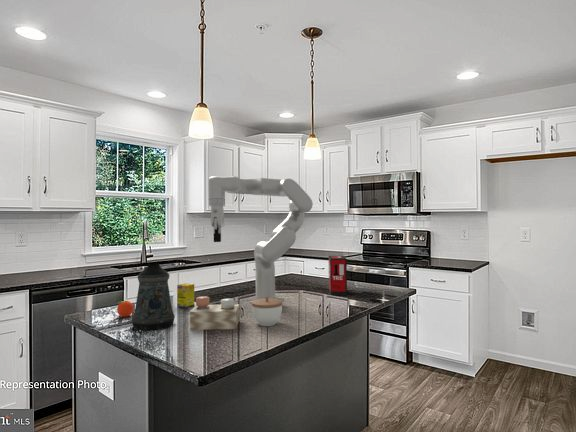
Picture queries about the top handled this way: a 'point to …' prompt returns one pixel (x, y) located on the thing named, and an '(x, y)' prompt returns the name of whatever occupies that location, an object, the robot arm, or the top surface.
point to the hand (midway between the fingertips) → (217, 241)
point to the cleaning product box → (337, 275)
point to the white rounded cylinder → (227, 303)
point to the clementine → (125, 308)
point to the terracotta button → (202, 302)
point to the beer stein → (153, 300)
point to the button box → (214, 318)
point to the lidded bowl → (267, 311)
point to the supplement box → (185, 295)
